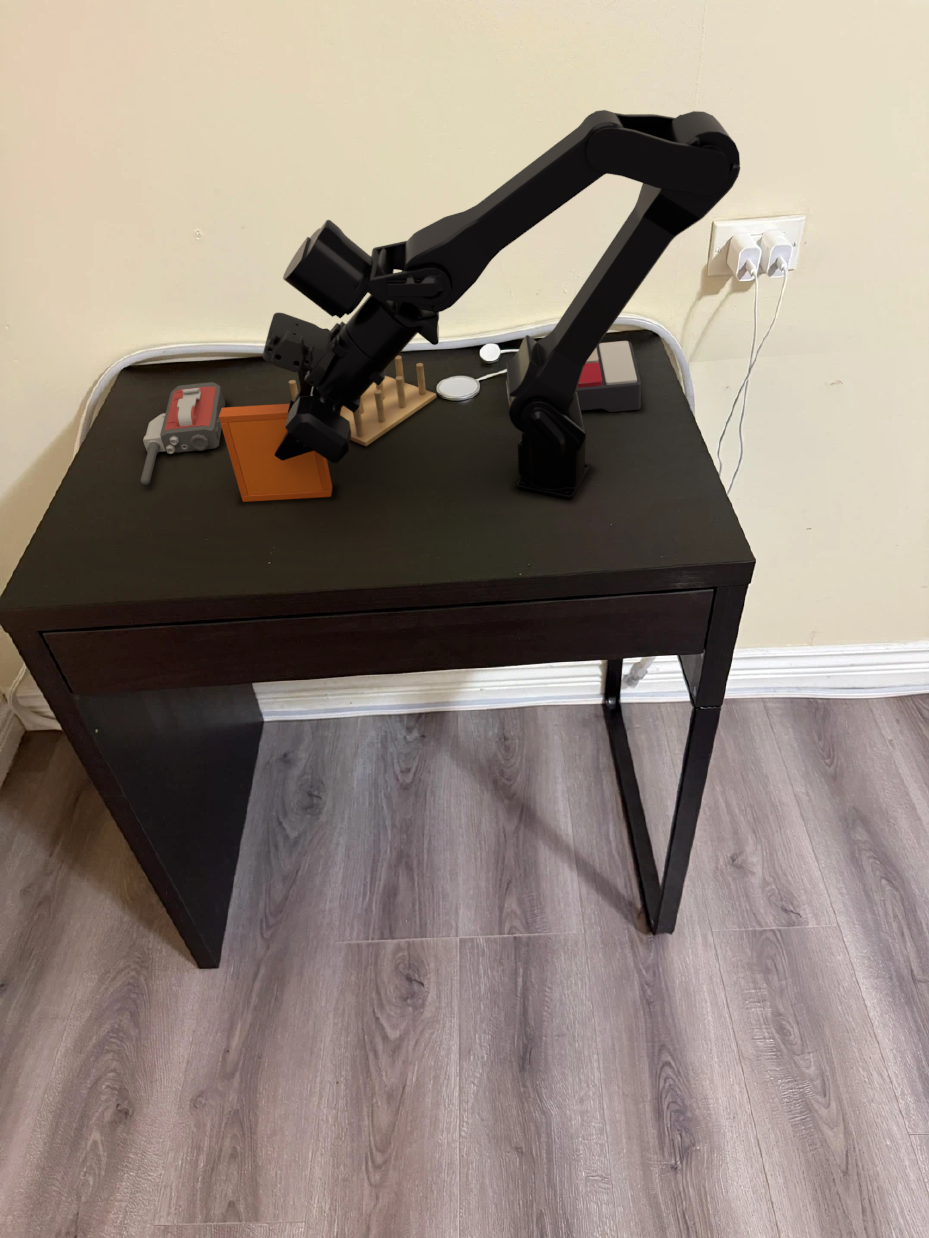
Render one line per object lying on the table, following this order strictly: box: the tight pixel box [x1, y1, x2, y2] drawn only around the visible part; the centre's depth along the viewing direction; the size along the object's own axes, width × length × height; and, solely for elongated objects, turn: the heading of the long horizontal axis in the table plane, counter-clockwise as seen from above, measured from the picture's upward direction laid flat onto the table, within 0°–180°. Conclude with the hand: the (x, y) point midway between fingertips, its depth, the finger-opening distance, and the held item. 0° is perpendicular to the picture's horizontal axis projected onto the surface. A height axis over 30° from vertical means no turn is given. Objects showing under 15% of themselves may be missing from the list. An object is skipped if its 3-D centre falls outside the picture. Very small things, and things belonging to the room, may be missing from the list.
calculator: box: [514, 340, 642, 413], centre depth 113 cm, size 11×4×15 cm
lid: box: [219, 403, 333, 503], centre depth 98 cm, size 10×2×11 cm, turn 91°
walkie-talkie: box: [140, 381, 226, 486], centre depth 110 cm, size 9×4×20 cm
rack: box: [288, 355, 437, 447], centre depth 113 cm, size 14×13×5 cm
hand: (281, 444), depth 97 cm, fingers open, 5 cm apart
